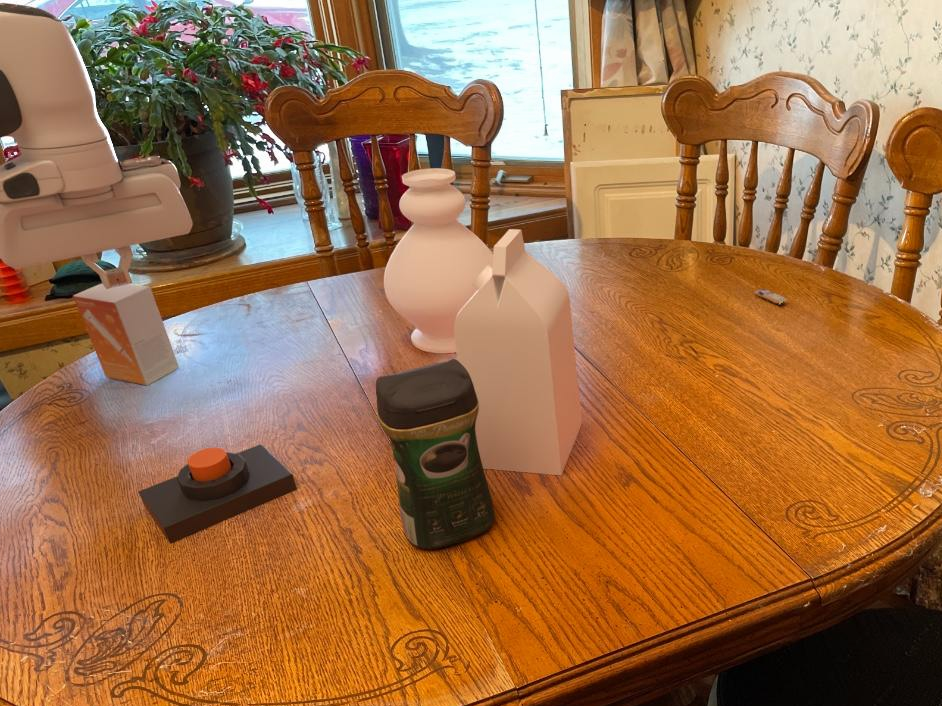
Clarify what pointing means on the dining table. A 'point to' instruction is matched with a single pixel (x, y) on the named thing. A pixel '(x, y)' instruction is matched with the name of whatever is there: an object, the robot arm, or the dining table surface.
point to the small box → (127, 332)
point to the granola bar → (771, 295)
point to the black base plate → (216, 493)
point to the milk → (521, 362)
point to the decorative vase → (434, 260)
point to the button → (209, 464)
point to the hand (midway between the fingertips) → (118, 285)
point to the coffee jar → (436, 453)
